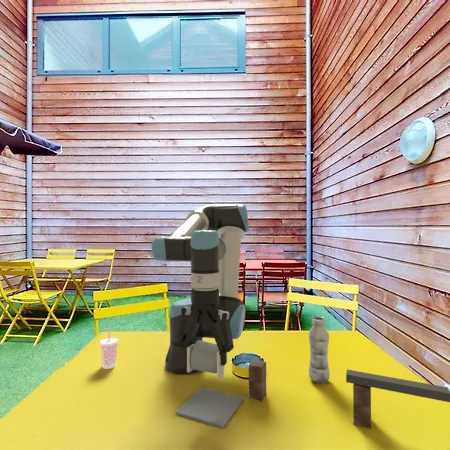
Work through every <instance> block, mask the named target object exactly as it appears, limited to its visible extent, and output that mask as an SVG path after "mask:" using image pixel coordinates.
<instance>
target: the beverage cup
mask: <svg viewBox="0 0 450 450" xmlns="http://www.w3.org/2000/svg"><path fill="white" fill-rule="evenodd" d="M107 329H108V331H107V332H108V333H107V335H108V336H107V337H108V338H107V337H106V338H103V339H101V340H100V341H99V345H100V353H101V366H102V369H104V370H105V369H106V370H107V369H113V368H115V367H116V365H117V353H118V343H119V339H118V338H116V337H111V336H110V334H111V332H110V330H111V328H110V326H108V327H107Z"/></svg>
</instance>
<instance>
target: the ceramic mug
mask: <svg viewBox="0 0 450 450" xmlns="http://www.w3.org/2000/svg"><path fill="white" fill-rule="evenodd" d="M218 352H219V349H218V346H217V344H216V343H213V342H209V341H205V340H203V341H201V340H198V341H197V342H196V343H195V344H194V346H193V349H192V352H191V360H190V362H191V368H192V369H193V370H198V371H200V372H204V373H211V374H217V353H218ZM225 366H226V364H225V365H224V367H225Z"/></svg>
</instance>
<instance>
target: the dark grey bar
mask: <svg viewBox="0 0 450 450" xmlns="http://www.w3.org/2000/svg"><path fill="white" fill-rule="evenodd" d="M345 382H346V383H348V384H349V383H350V384H358V385H363V386H368V387H371V388H374V389H380V390H385V391H389V392H395V393H400V394H404V395H405V394H406V395H409V396H414V397H421V398H425V399H430V400H431V399H432V400H435V401H440V402H447V403H450V389H449V387H448V386H442V385H437V384H431V383H426V382H425V383H424V382H420V381H414V380H409V379H404V378H403V379H402V378H397V377H391V376H385V375H381V374H375V373H369V372H363V371H359V370H352V369H347V368H346V373H345Z"/></svg>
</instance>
